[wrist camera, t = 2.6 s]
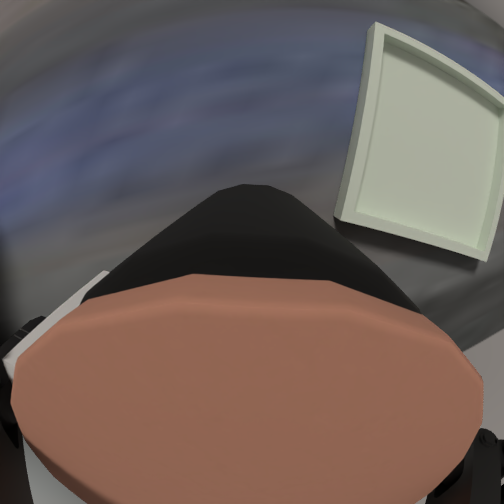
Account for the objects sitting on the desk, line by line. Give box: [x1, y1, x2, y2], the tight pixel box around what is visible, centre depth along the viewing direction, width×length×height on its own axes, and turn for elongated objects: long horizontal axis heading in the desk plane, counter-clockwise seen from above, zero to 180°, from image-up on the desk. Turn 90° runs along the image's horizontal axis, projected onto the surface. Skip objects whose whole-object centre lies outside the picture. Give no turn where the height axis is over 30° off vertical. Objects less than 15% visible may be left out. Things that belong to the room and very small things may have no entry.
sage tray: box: [333, 22, 504, 262], centre depth 18 cm, size 16×16×2 cm
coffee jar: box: [11, 184, 483, 504], centre depth 13 cm, size 11×11×18 cm
